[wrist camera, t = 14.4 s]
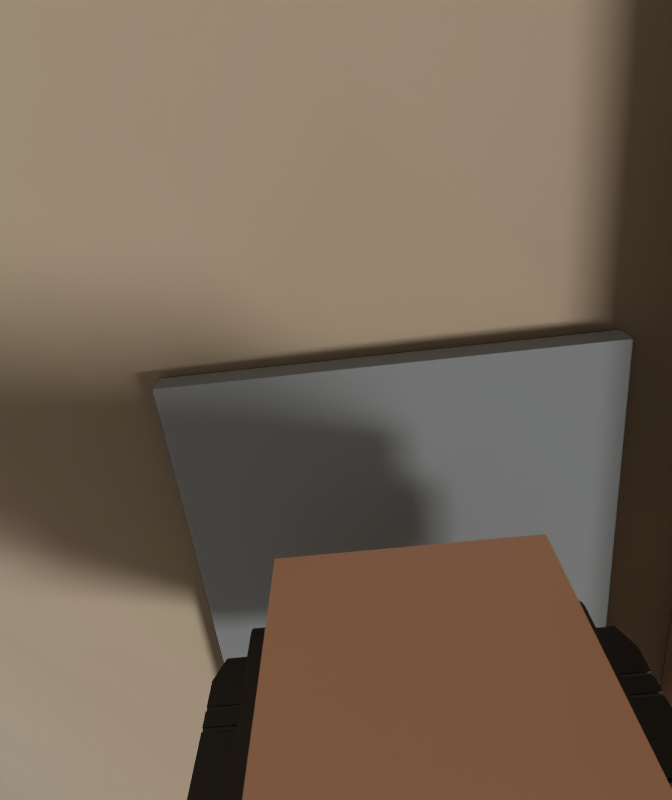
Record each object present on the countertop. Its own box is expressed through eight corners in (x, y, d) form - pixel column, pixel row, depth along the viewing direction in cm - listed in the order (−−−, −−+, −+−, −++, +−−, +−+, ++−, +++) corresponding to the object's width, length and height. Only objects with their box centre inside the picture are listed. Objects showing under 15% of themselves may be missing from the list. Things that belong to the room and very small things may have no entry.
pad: (159, 378, 14) (152, 390, 13) (620, 329, 13) (633, 339, 13) (240, 695, 18) (237, 713, 17) (592, 667, 17) (600, 685, 17)
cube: (274, 558, 12) (236, 849, 7) (545, 533, 11) (685, 817, 7) (309, 738, 14) (296, 1050, 9) (538, 720, 13) (641, 1032, 9)
